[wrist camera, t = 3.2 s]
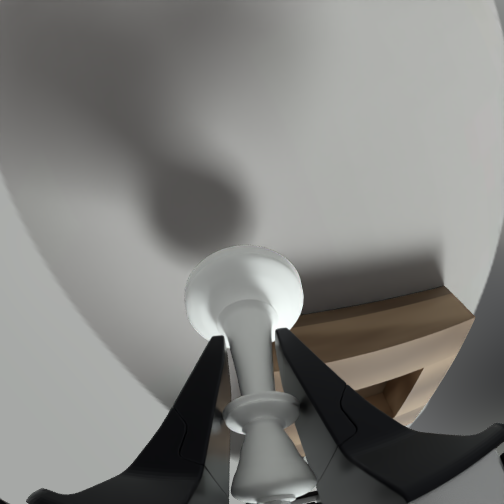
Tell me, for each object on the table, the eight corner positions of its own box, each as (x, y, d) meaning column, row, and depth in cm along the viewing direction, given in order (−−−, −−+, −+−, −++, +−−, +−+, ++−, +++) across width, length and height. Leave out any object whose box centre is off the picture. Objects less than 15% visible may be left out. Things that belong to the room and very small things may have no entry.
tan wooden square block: (397, 394, 24) (412, 422, 20) (267, 426, 23) (273, 461, 19) (444, 285, 17) (475, 317, 14) (261, 320, 16) (273, 372, 13)
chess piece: (160, 290, 11) (118, 554, 2) (258, 219, 10) (373, 551, 1) (233, 354, 13) (257, 558, 4) (320, 302, 12) (416, 517, 3)
